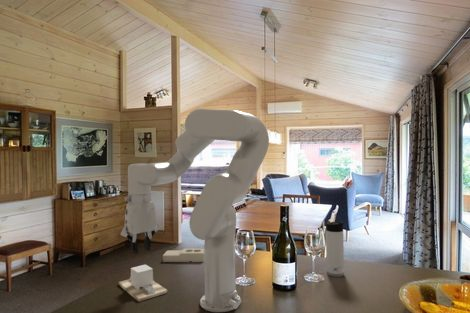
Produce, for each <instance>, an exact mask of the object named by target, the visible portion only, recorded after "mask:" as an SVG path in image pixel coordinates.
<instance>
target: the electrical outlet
mask: <svg viewBox="0 0 470 313" xmlns="http://www.w3.org/2000/svg"><path fill="white" fill-rule="evenodd" d="M189 261H192V263H201V262H202V263H204V248H182V249H180V250H176V249H175V250H174V249H173V250H172V249H171V250H166V251H165V252H164V254H162V263H166V262H167V263H169V262H170V263H190V262H189Z"/></svg>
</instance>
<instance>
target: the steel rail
mask: <svg viewBox="0 0 470 313" xmlns="http://www.w3.org/2000/svg"><path fill="white" fill-rule="evenodd" d="M129 279H130V281H131V276H130V277H129ZM140 288H141V289H142V290H143V291H145V292H146V293H147V294H151V293H155V292H156V291H155V289H154V288H153V287H152V286H150V285H146V286H142V287H140Z"/></svg>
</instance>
